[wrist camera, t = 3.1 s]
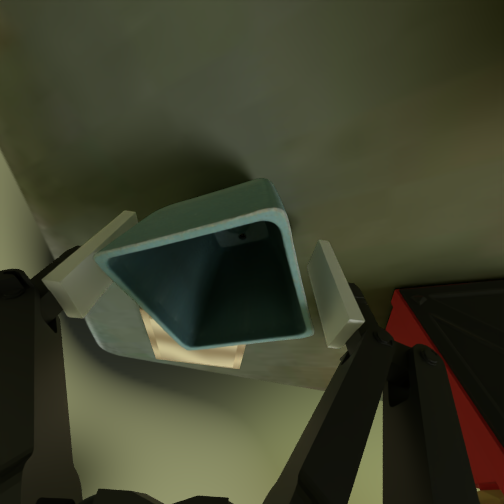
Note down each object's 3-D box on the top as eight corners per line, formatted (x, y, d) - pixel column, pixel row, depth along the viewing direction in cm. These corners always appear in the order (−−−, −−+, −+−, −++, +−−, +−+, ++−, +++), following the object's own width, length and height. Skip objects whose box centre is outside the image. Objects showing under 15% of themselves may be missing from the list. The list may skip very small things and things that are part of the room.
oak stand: (152, 287, 24) (138, 311, 21) (252, 301, 24) (251, 326, 22) (164, 338, 31) (155, 360, 28) (241, 348, 32) (239, 371, 29)
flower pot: (275, 147, 14) (285, 205, 7) (297, 246, 19) (316, 339, 12) (165, 183, 16) (84, 257, 9) (212, 264, 21) (185, 352, 14)
